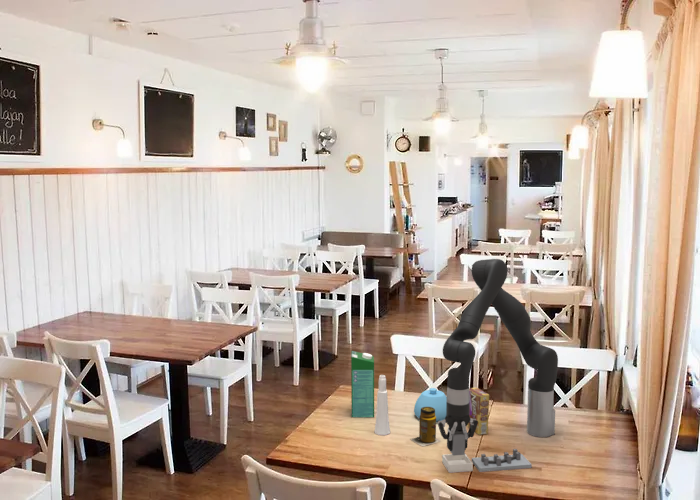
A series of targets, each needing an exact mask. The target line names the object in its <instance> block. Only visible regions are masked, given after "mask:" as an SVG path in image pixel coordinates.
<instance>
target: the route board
mask: <svg viewBox="0 0 700 500" xmlns="http://www.w3.org/2000/svg"><path fill="white" fill-rule="evenodd" d="M471 462H472V463H473V465H474V467H475V468H476V470H478V472H479V473H482V472H483V473H485V472H495V471H498V472H499V471H507V470H508V471H509V470H510V471H511V470H519V469H521V470H522V469H532V463H531V462H530V461H529V460H528V458H526V457H525V456H524V455H523V454H522V453H521V452H520V451H518V448H512V454H510V453H509V452H508V451H504V452H503V455H498V454H497V453H496V454H493V455H491V456H487V455H486V454H485V453H481V454H480V456H479V457H471Z"/></svg>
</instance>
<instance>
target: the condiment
mask: <svg viewBox="0 0 700 500" xmlns="http://www.w3.org/2000/svg"><path fill="white" fill-rule="evenodd" d="M418 420H419V425H418V426H419V429H418V430H419V433H418V434H419V435H418V436H417V437H413V438H410V440H411V441H412V442H414V443H416V444H417V445H419V446H421V447H426V446H429V445H433V444H436V443H440V442H441V440H440V439H437V423H436V416H435V409H434V408H432V407H423V408H421V413H420V417H419V418H418Z"/></svg>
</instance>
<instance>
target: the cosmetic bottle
mask: <svg viewBox="0 0 700 500" xmlns="http://www.w3.org/2000/svg"><path fill="white" fill-rule="evenodd" d="M376 393H377V395H376V415H375V425H374V434H375V435H378V436H387V435H390V434H391V427H390V421H389V403H388V402H389V401H388V399H389V398H388V390H387V377H386V375H384V374H380V375H379V378H378V390H377V392H376Z"/></svg>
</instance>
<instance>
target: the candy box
mask: <svg viewBox="0 0 700 500" xmlns="http://www.w3.org/2000/svg"><path fill="white" fill-rule="evenodd" d="M469 392H470V405H469V416H470V418H472V419H473V418H475V419H476V420H477V421H478V425H477V427H476V430H475V434H477V435H478V436H481V435H488V434H489V433H488V432H489V415H490V413H489V411H490V410H489V409H490V394H489V393H487V392H486V391H483V390H482V389H480V388H478V387H469ZM470 425H471V424H470V422H469V423H468V425H467V426H466V428H468V429H469V427H470Z"/></svg>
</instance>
